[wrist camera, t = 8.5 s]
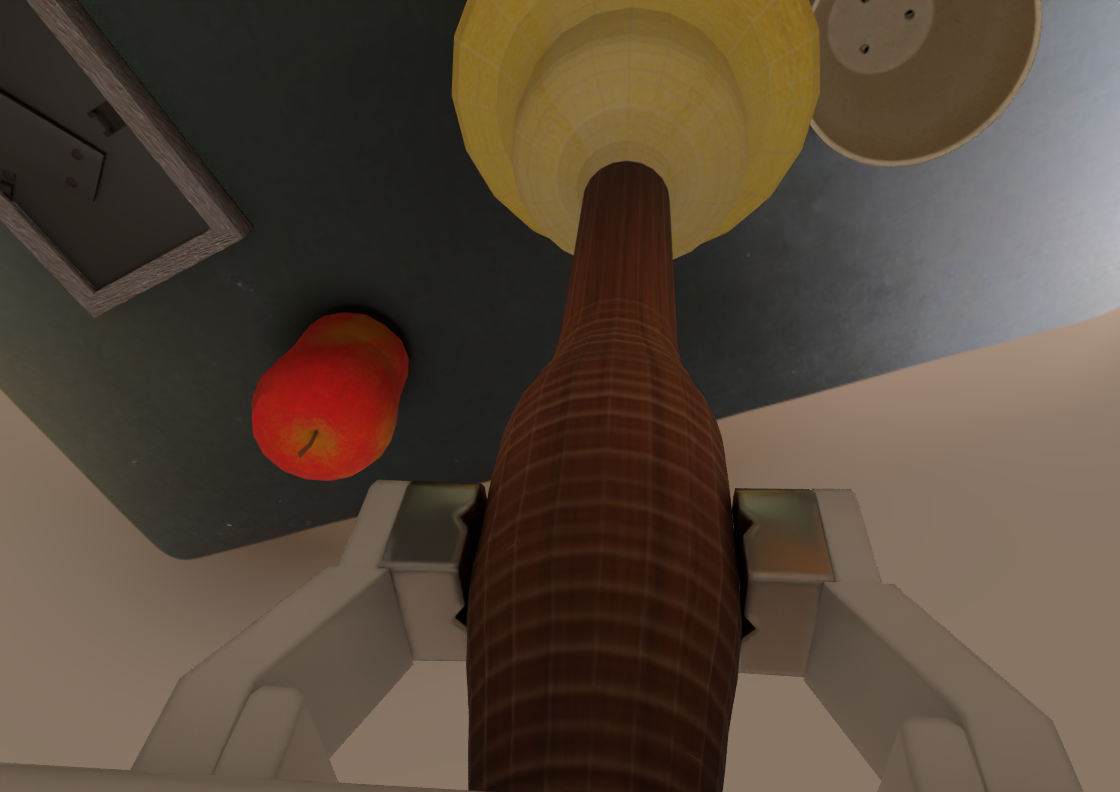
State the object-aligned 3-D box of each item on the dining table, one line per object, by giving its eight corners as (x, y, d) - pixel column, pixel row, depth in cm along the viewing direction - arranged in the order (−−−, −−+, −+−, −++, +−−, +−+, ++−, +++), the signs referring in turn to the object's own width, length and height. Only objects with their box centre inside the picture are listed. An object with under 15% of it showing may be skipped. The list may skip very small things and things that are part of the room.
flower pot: (997, 75, 42) (1052, 120, 36) (801, 145, 45) (823, 196, 39) (972, -140, 36) (1032, -128, 31) (752, -45, 39) (769, -18, 34)
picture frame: (-127, 57, 46) (106, 306, 55) (-155, 66, 45) (90, 321, 54) (25, -66, 42) (253, 227, 51) (0, -60, 40) (240, 241, 49)
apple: (361, 413, 59) (306, 532, 49) (273, 331, 55) (195, 442, 46) (448, 357, 55) (407, 474, 46) (360, 266, 52) (295, 372, 42)
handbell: (853, -131, 23) (2181, 324, 3) (794, 261, 30) (1078, 1158, 10) (428, -116, 24) (-621, 289, 4) (469, 258, 32) (156, 1063, 11)
